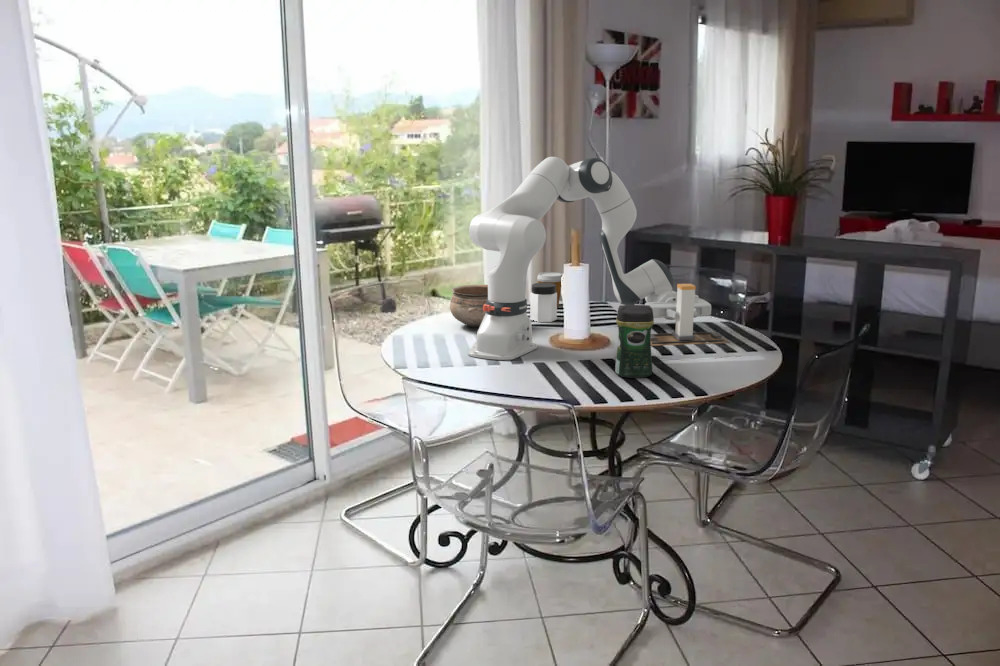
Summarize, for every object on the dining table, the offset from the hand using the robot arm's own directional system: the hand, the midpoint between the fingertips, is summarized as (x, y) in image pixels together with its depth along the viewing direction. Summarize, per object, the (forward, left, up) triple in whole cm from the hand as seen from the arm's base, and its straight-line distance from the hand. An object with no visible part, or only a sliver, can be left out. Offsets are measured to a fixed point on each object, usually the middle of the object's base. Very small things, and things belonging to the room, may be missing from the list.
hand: (685, 315), depth 240 cm
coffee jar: (-37, +8, -9) cm, 39 cm away
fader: (+1, 0, -7) cm, 7 cm away
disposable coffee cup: (+34, +53, -9) cm, 64 cm away
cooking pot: (-2, +66, -9) cm, 67 cm away
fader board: (0, +1, -9) cm, 9 cm away
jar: (+14, +49, -9) cm, 52 cm away
